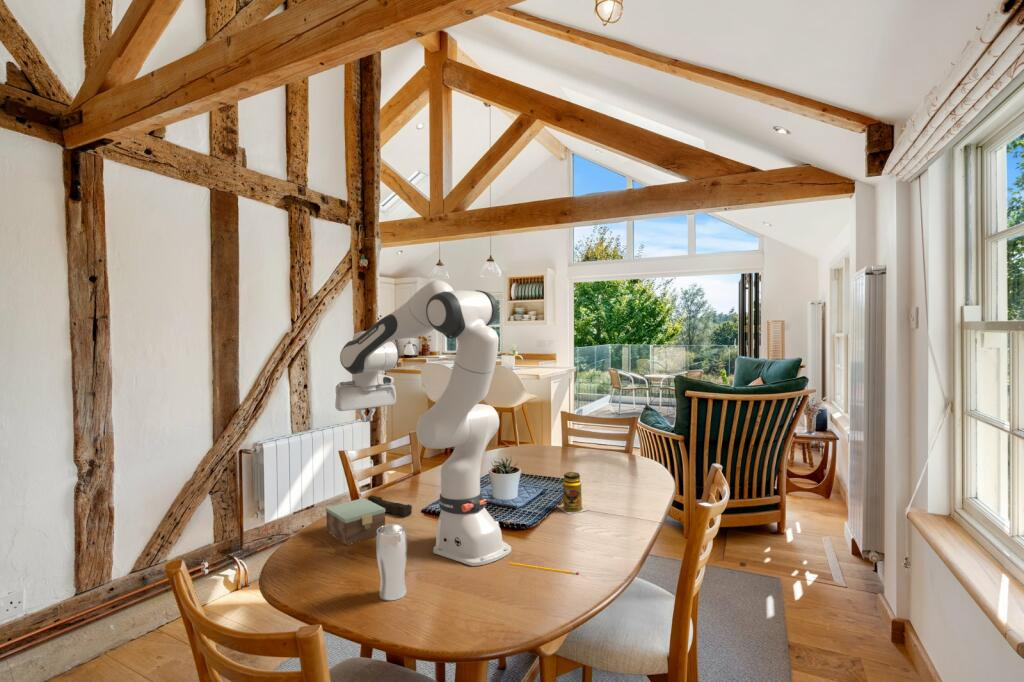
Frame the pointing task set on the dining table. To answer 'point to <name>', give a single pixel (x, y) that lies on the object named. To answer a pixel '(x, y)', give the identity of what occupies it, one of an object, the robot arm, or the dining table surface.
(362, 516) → the lid
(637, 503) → the dining table surface
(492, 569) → the dining table surface
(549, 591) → the dining table surface
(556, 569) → the pencil
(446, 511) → the robot arm
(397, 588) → the beer glass
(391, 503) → the dark brown rough bar
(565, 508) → the condiment
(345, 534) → the box
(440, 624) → the dining table surface
